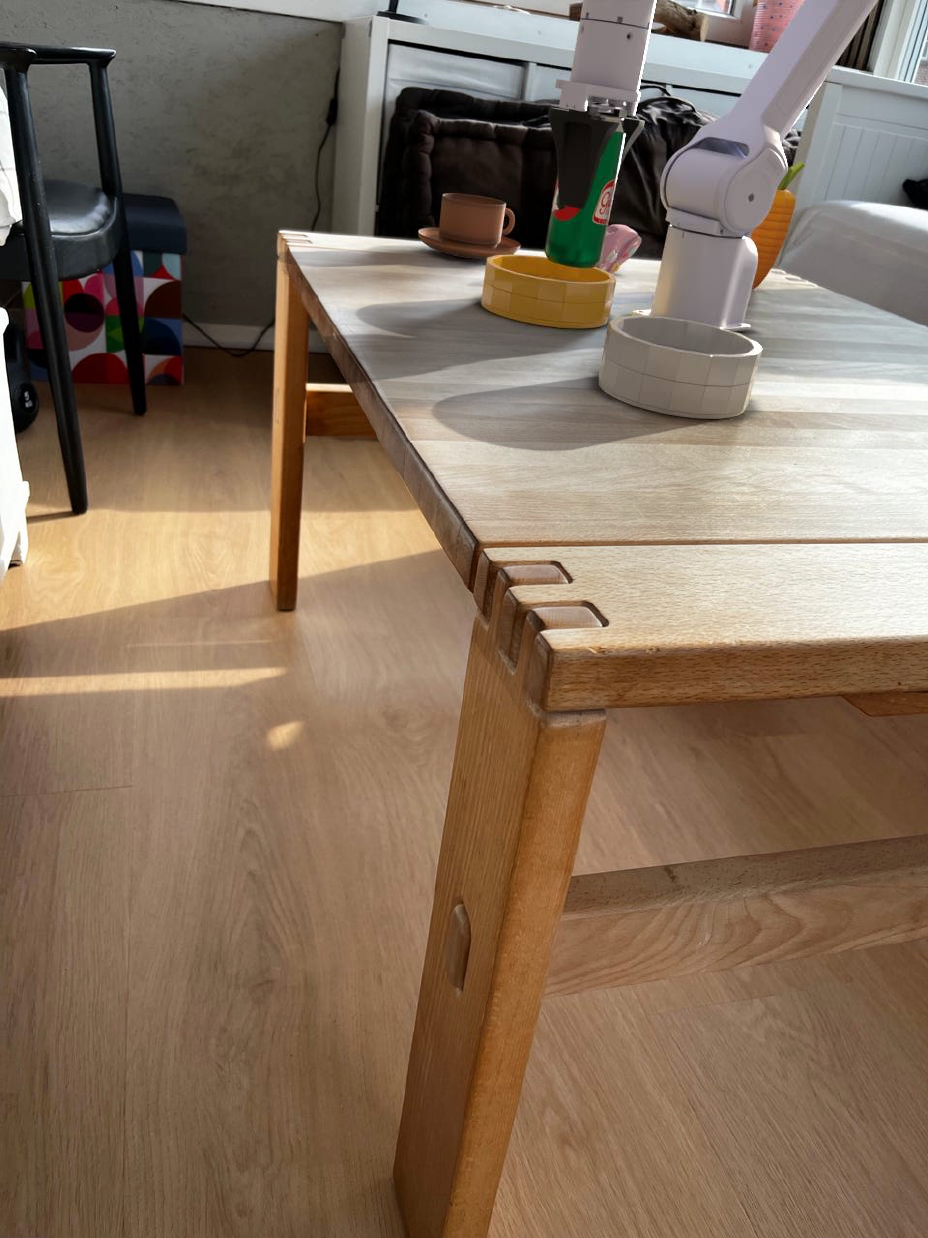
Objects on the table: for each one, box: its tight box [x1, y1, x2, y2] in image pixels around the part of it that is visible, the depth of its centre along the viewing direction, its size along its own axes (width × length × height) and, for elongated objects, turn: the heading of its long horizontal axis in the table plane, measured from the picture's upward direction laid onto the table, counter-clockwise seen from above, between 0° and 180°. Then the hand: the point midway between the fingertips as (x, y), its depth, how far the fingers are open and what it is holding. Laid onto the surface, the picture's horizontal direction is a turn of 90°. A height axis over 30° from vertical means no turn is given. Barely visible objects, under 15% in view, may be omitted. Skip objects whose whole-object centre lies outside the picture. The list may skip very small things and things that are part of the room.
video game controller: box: [595, 223, 643, 275], centre depth 118 cm, size 10×5×7 cm, turn 148°
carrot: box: [750, 161, 806, 291], centre depth 120 cm, size 5×5×15 cm
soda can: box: [544, 113, 625, 268], centre depth 88 cm, size 5×5×12 cm
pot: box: [598, 315, 764, 420], centre depth 77 cm, size 11×11×4 cm
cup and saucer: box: [417, 192, 521, 260], centre depth 119 cm, size 12×12×6 cm
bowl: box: [480, 253, 617, 329], centre depth 97 cm, size 12×12×4 cm
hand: (582, 204), depth 89 cm, fingers closed on soda can, 5 cm apart
